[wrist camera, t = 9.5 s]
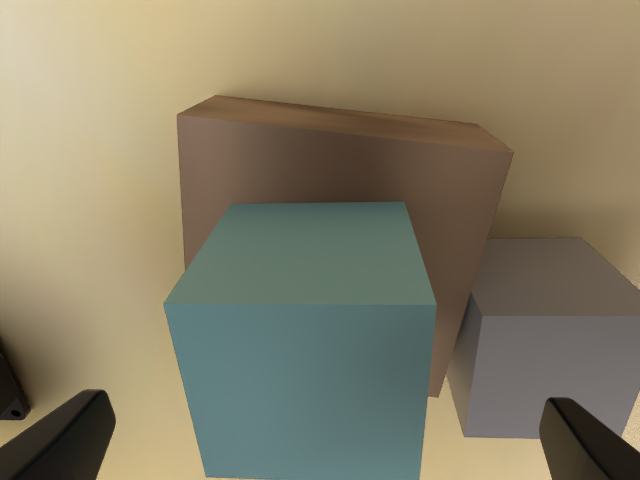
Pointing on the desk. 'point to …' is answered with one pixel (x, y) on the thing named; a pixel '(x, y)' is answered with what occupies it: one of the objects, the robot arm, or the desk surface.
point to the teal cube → (307, 342)
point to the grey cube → (545, 338)
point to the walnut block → (350, 182)
